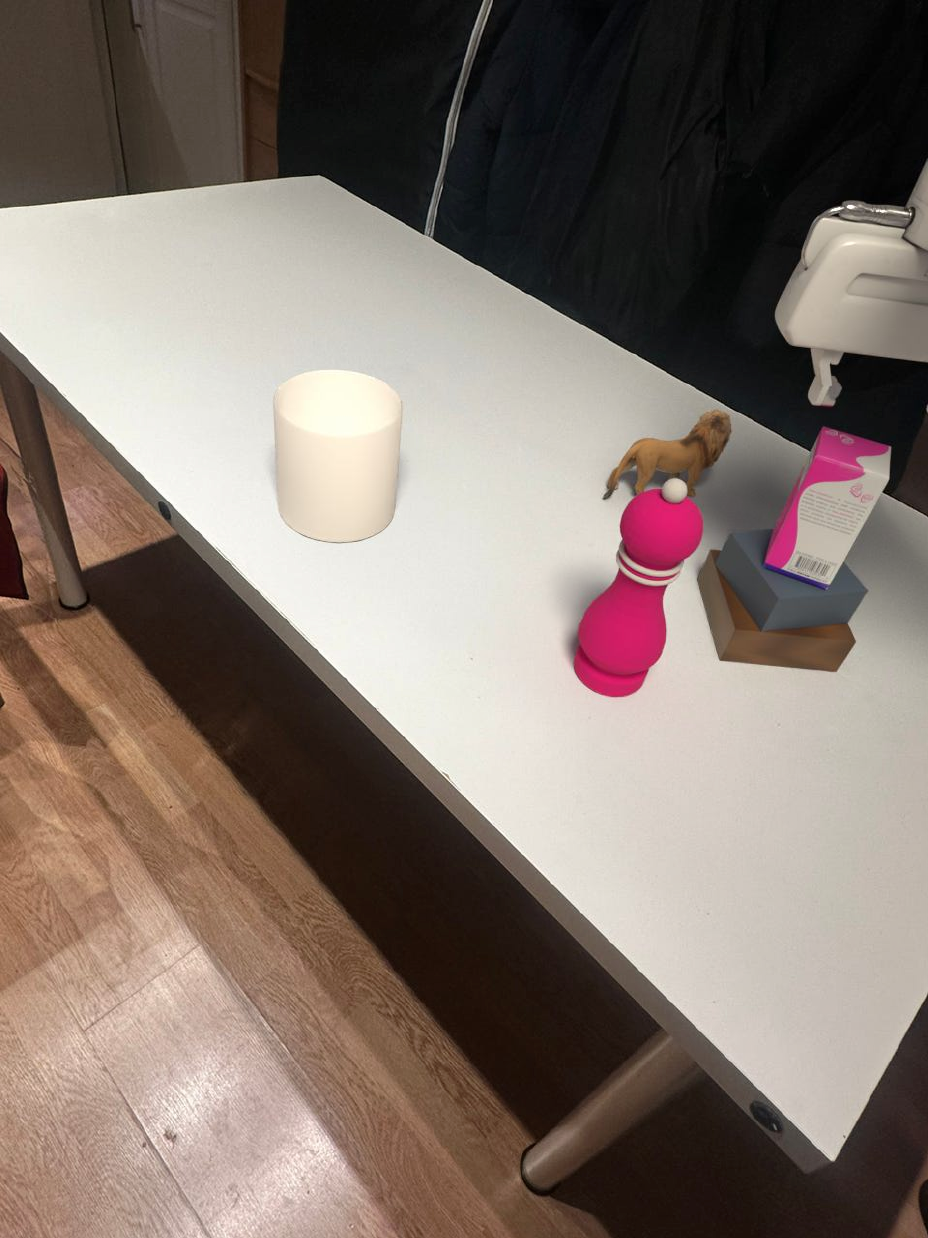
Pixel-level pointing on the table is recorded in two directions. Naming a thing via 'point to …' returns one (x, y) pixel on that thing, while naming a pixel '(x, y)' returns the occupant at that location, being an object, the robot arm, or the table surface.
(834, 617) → the top block
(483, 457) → the table surface
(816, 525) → the supplement box
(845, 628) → the base block
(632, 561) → the pepper mill
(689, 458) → the lion figurine
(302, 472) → the cup
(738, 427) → the table surface
